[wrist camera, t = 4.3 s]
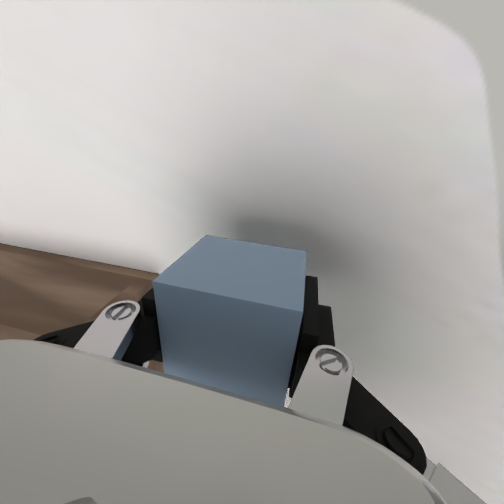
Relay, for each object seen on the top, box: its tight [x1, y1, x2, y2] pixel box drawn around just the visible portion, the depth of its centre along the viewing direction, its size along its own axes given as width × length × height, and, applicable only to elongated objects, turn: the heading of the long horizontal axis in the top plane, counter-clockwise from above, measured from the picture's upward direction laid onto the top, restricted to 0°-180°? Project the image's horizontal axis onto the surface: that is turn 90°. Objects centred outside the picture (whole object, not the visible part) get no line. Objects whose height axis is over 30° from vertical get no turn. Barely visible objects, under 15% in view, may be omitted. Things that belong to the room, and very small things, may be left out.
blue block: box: [153, 235, 307, 407], centre depth 11 cm, size 5×5×4 cm
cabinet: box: [0, 244, 165, 373], centre depth 22 cm, size 16×20×9 cm
